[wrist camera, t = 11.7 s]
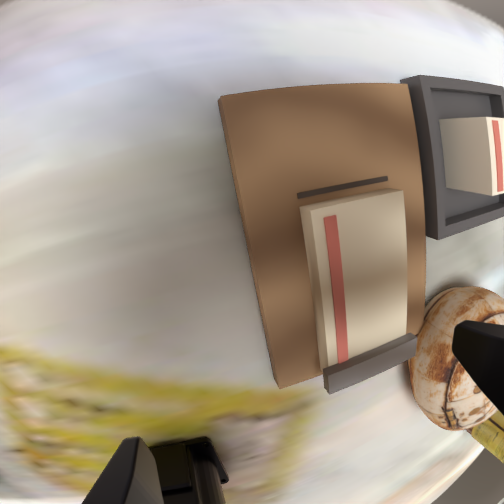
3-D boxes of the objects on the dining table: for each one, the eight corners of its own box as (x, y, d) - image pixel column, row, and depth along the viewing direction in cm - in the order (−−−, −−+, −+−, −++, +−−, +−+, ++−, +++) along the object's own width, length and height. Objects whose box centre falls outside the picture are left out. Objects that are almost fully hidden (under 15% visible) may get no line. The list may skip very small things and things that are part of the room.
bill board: (414, 324, 23) (441, 344, 20) (274, 378, 21) (290, 410, 18) (396, 86, 18) (431, 78, 15) (217, 100, 16) (228, 85, 13)
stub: (488, 179, 21) (531, 186, 17) (446, 187, 20) (493, 196, 16) (483, 120, 20) (526, 120, 15) (438, 119, 19) (487, 116, 14)
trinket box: (451, 403, 29) (493, 440, 22) (361, 406, 25) (409, 465, 17) (505, 298, 27) (557, 325, 20) (432, 263, 23) (508, 299, 15)
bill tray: (498, 208, 23) (514, 212, 21) (419, 233, 21) (438, 240, 19) (486, 88, 20) (503, 86, 18) (400, 79, 18) (419, 75, 16)
